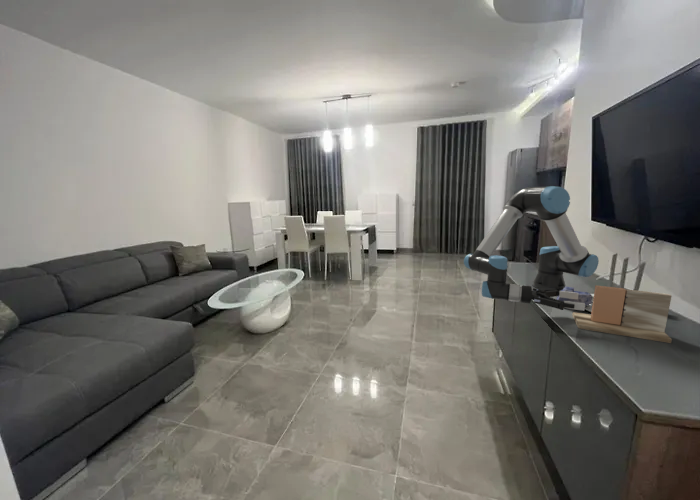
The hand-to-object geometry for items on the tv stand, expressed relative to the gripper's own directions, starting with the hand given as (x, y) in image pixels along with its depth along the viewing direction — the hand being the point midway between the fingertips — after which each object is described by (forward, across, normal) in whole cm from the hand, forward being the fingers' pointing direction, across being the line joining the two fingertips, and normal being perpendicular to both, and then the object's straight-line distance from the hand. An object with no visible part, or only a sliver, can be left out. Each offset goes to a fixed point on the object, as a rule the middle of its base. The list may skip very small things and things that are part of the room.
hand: (581, 301), depth 119 cm
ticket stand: (+12, 0, -9) cm, 15 cm away
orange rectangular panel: (+8, 0, -7) cm, 11 cm away
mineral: (+1, -21, -9) cm, 23 cm away
